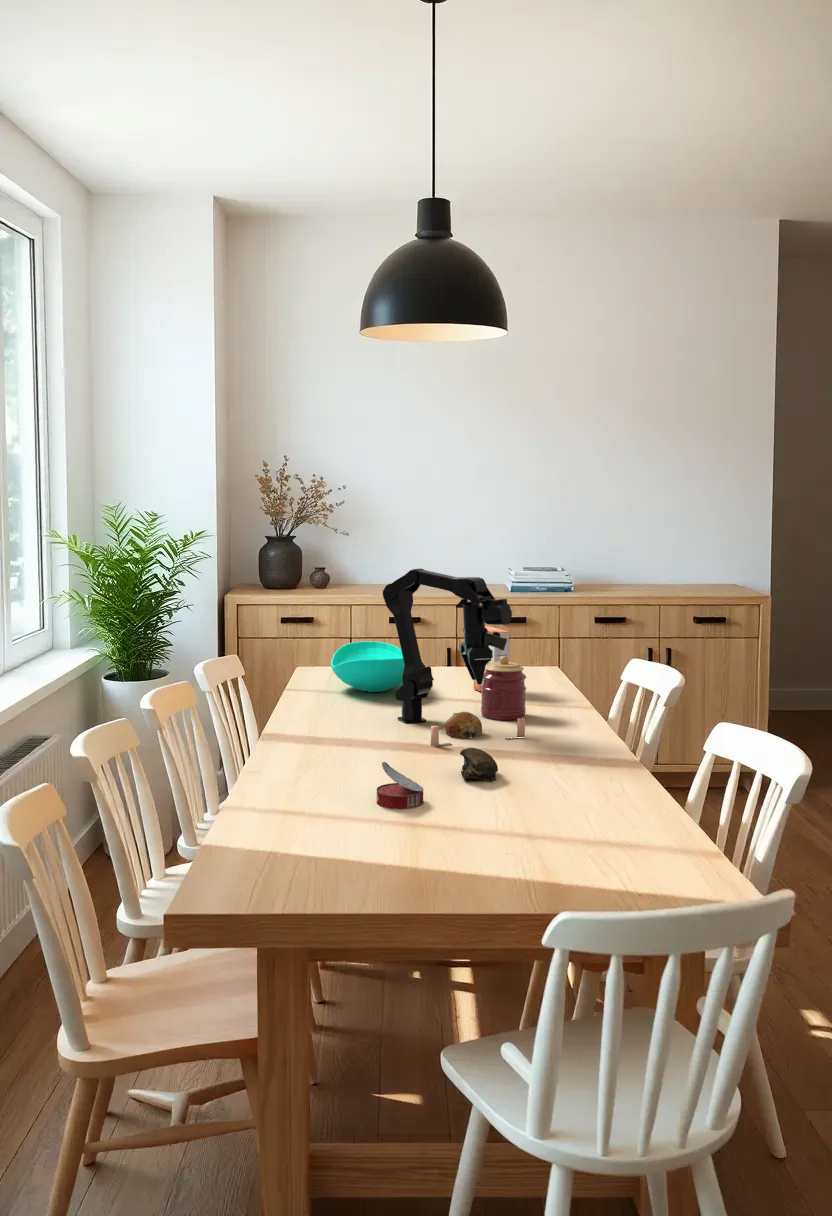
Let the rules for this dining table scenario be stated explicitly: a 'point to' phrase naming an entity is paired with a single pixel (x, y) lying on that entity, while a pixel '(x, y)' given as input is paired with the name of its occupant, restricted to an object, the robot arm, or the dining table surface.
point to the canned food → (399, 791)
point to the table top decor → (369, 665)
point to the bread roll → (463, 725)
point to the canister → (503, 690)
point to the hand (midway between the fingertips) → (476, 681)
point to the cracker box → (496, 651)
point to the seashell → (478, 765)
